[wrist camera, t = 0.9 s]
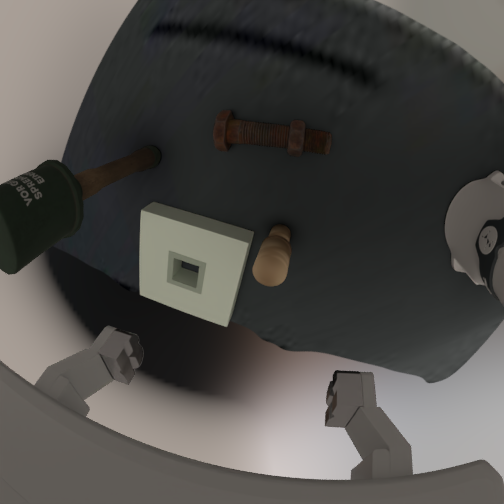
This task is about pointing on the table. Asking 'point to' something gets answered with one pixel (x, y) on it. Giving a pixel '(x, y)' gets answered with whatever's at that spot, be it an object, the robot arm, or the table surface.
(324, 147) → the bolt
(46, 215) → the grenade
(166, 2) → the table surface
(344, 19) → the table surface
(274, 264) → the peg
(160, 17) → the table surface
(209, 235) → the board
